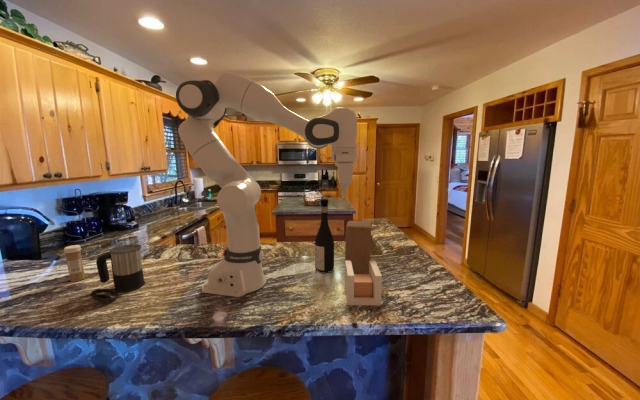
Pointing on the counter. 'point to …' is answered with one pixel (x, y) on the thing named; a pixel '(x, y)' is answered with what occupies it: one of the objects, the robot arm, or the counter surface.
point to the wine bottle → (324, 243)
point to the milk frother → (120, 271)
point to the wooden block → (358, 245)
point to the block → (362, 285)
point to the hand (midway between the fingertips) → (343, 195)
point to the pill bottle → (74, 262)
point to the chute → (376, 285)
